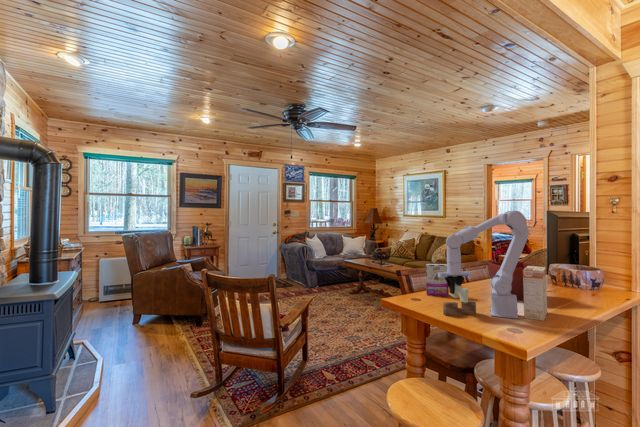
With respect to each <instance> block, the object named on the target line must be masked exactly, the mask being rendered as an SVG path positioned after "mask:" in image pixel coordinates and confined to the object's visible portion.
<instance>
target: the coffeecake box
mask: <svg viewBox="0 0 640 427" xmlns="http://www.w3.org/2000/svg"><path fill="white" fill-rule="evenodd" d="M538 266H539V265H537V266H527V267H526V268H525V269H524V270H523V289H524V300H523V314H524V315H523V318H524V319H529V320H536V321H542V322H545V319H546V317H547V313H548V300H547V299H548V297H547V296H548V294H547V267H546V266H541V267H538Z"/></svg>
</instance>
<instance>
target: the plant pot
mask: <svg viewBox="0 0 640 427" xmlns="http://www.w3.org/2000/svg"><path fill="white" fill-rule="evenodd" d="M502 263H503V261H495V262H494V261H493V262H492V261H491V262H490V261H488V262H487V267H488V272H489V276H490V279H492V278H493V277H495V275H496V273H497V272H498V271H499V269H500V267H501V265H502ZM527 266H538V267H542V265H538V264H532V263H528V262H523V261H518V263H517V265H516V267H515V270H514V272H513V280H512V283H511V286H512V289H511V292H510V293H511V294H512V295H516V297H517V301H524V289H523V270H524V269H525V268H526V267H527Z"/></svg>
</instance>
